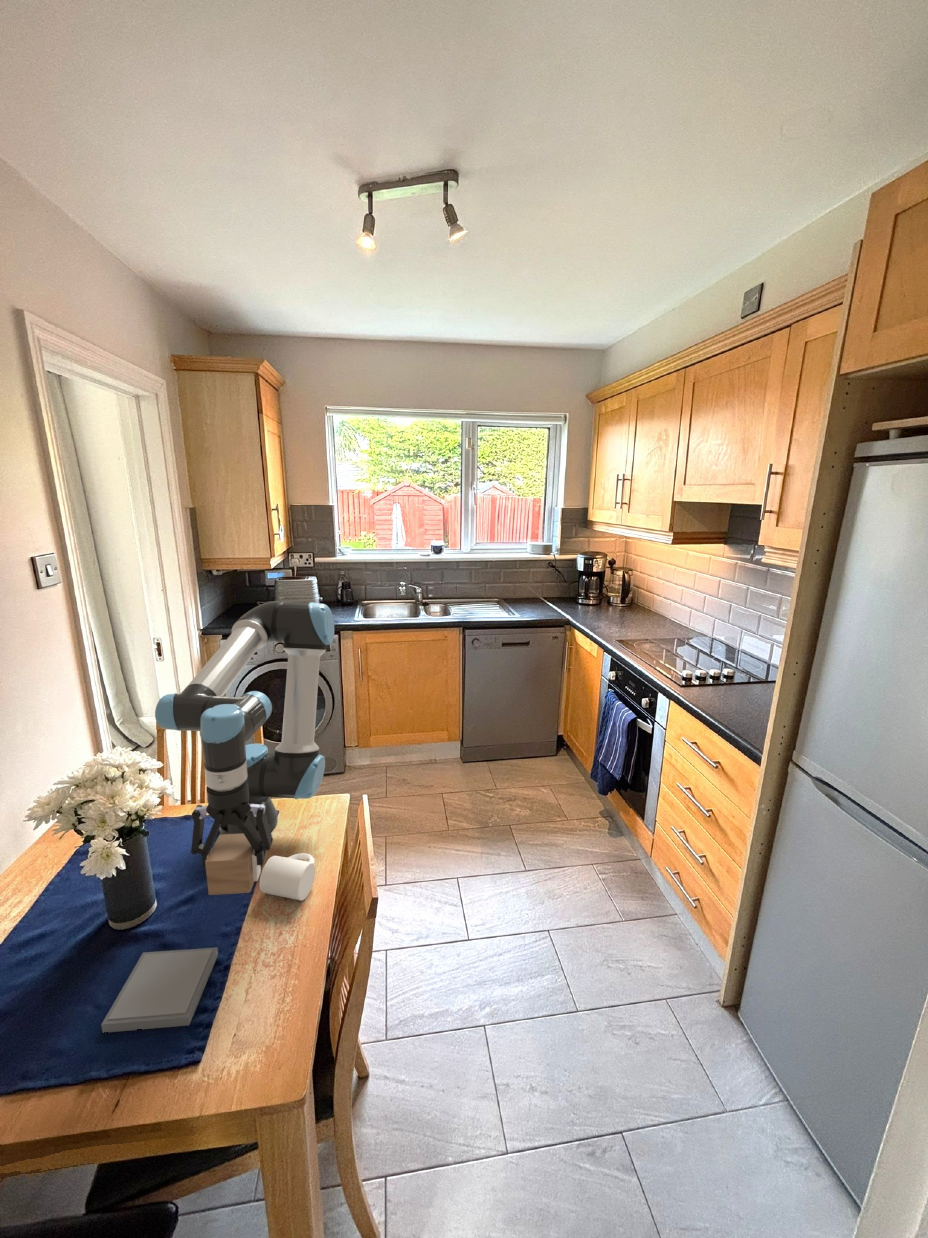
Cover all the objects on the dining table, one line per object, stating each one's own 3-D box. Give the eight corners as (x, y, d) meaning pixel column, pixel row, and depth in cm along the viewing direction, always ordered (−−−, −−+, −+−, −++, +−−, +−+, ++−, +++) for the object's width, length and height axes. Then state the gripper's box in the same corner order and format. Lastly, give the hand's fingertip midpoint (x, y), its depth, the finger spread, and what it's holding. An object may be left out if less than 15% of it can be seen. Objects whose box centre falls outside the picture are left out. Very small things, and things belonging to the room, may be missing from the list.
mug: (299, 909, 112) (298, 879, 110) (259, 900, 114) (257, 871, 112) (324, 872, 123) (323, 844, 122) (287, 865, 125) (286, 837, 123)
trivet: (143, 960, 98) (142, 951, 97) (218, 954, 100) (217, 946, 99) (102, 1033, 84) (101, 1024, 84) (189, 1025, 86) (188, 1016, 86)
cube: (222, 866, 107) (219, 834, 105) (260, 864, 108) (258, 832, 106) (208, 895, 99) (205, 861, 97) (250, 892, 100) (247, 859, 98)
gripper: (162, 794, 93) (174, 894, 98) (277, 791, 96) (282, 888, 101) (179, 773, 100) (190, 867, 106) (285, 770, 103) (290, 862, 108)
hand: (235, 877), depth 103 cm, fingers closed on cube, 8 cm apart
